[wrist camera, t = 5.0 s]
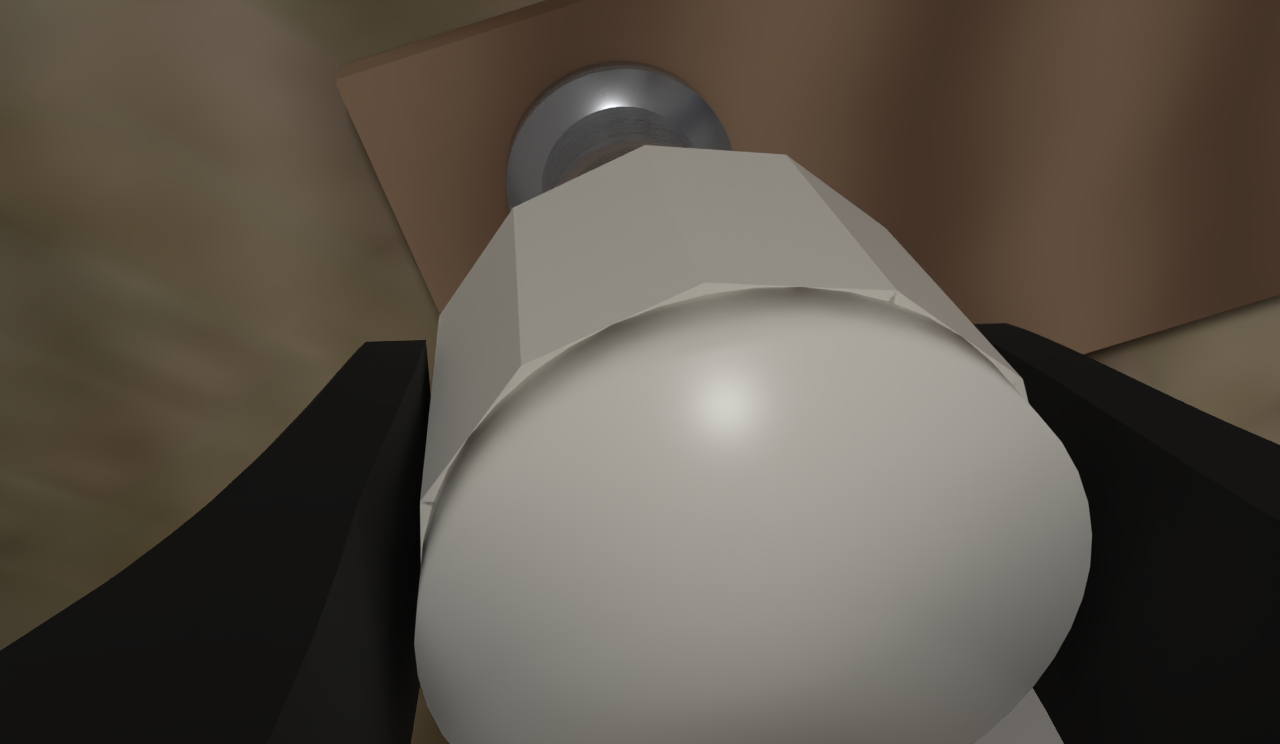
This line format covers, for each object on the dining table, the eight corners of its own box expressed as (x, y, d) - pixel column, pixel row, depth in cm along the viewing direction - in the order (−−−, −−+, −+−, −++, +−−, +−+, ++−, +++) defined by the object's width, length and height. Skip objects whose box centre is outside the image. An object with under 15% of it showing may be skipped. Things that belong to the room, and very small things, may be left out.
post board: (1484, -301, 16) (1962, -347, 10) (1387, 232, 21) (1673, 372, 16) (342, 65, 16) (273, 189, 11) (531, 492, 22) (542, 707, 16)
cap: (967, 167, 10) (1202, 351, 7) (851, 557, 13) (977, 824, 10) (439, 131, 9) (408, 325, 6) (439, 560, 12) (418, 857, 9)
